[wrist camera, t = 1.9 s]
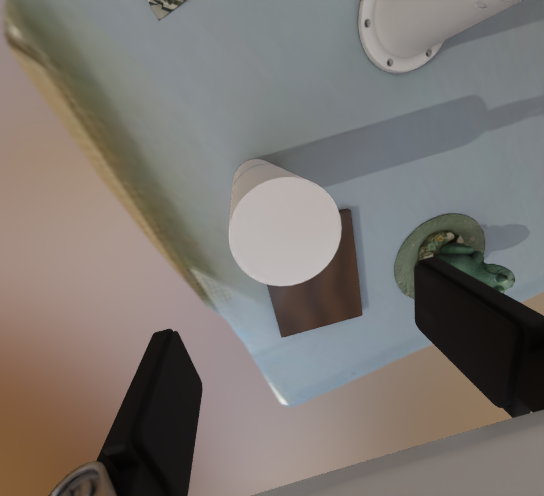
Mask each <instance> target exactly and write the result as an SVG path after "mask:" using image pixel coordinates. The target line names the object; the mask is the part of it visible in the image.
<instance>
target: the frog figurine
mask: <svg viewBox="0 0 544 496" xmlns="http://www.w3.org/2000/svg"><path fill="white" fill-rule="evenodd" d="M484 250H485V239H484V233H483V231H482V229H481V228H480V226H479V225H478V223H477V222H476V221H474V220H473V219H471V218H469V217H468V216H465V215H459V214H448V215H443V216H439V217H437V218H434V219H432V220H430V221H428V222H426V223H424V224H422V225H421V226H419V227H418V228H417V229H416V230H415V231H414V232H413V233H412V234H411V235H410V236H409V237H408V239H407V240H406V241H405V243H404V244H403V246H402V247H401V249H400V251H399V254H398V256H397V259H396V263H395V278H396V282H397V284H398V286H399V288H400V289H401V291H402V292H403V293H404V294H405V295H407V296H409V297H411V298H413V299H415V297H414V267H415V265H417V263H418V261H419V260H422V259H426V258H429V257H433V256H435V257H438V258H440V259H442V260H443V261H445V262H447V263H449V264H451V265H453V266H454V267H456V268H458V269H460V270H462V271H463V272H465V273H467V274H469V275H471V276H472V277H474V278H476V279H478V280H480V281H482V282H483V283H485V284H487V285H489V286H491V287H492V288H494V289H496V290H498V291H500V292H501V293H504V292H505V290H507V289H508V288H511V287H512V286H513V284H514V282H515V277H514V274H513V273H512V271H510V270H509V269H507V268H505V267H503V266H500V265H496V264H486V263H484V257H483V255H484Z"/></svg>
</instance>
